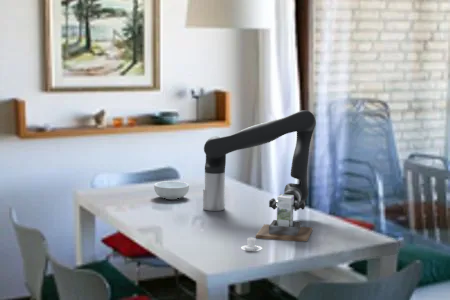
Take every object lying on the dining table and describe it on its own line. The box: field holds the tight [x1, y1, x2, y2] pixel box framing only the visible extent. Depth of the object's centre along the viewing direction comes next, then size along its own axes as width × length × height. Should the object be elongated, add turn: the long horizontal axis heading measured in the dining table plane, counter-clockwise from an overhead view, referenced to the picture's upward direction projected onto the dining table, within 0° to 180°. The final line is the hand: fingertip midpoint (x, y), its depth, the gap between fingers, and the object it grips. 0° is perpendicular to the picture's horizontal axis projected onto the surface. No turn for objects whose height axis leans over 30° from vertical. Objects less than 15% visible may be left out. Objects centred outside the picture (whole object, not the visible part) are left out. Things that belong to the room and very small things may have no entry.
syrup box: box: [276, 193, 294, 227], centre depth 289 cm, size 6×6×14 cm
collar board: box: [255, 219, 313, 242], centre depth 290 cm, size 20×18×4 cm
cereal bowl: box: [153, 180, 190, 200], centre depth 354 cm, size 17×17×7 cm
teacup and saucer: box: [240, 237, 263, 252], centre depth 269 cm, size 9×8×4 cm
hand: (284, 207), depth 287 cm, fingers open, 8 cm apart
